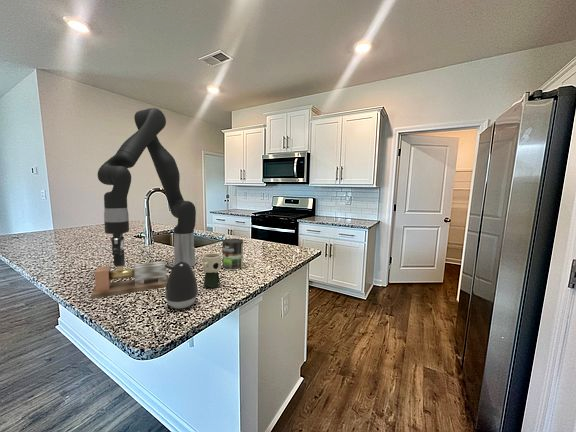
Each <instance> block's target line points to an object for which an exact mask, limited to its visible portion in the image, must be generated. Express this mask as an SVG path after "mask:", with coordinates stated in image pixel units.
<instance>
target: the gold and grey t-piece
mask: <svg viewBox="0 0 576 432" xmlns="http://www.w3.org/2000/svg"><path fill="white" fill-rule="evenodd" d="M117 251H119V250H115V252H117ZM121 253H122V254H121V265H118V266H115V265H114V267H115V268H116V270H114V271H113V270H112V271H111V270H110V272H109V280H111V281H112V280H119V279H126V278H127V279H128V278H133V277H134V278H135V274H134V268H130V269H129V268H128V269H124V267H125V265H126V259H125V257H126V255H125V248H123V249H122V250H121Z"/></svg>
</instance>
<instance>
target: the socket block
mask: <svg viewBox="0 0 576 432" xmlns="http://www.w3.org/2000/svg"><path fill="white" fill-rule="evenodd" d="M109 272H111V265H106V266H105V265H104V266H97V267H96V268H95V271H94V284H95V285H94V288H96V292H100V291H107V290H110V286H111V283H112V280H109Z"/></svg>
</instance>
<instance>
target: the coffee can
mask: <svg viewBox="0 0 576 432" xmlns="http://www.w3.org/2000/svg"><path fill="white" fill-rule="evenodd" d="M221 242H222V257H221V262H222V266H221V269H222V268H223V269H222V270H224V269H225V270H224V271H227V270H236V269H240V268H242V266H243V264H244V263H243V262H244V261H243V258H244V256H243V255H244V254H243V253H244V247H243V246H244V239H240V238H224V239H222V240H221ZM242 269H243V268H242ZM240 270H241V269H240ZM236 271H237V270H236Z"/></svg>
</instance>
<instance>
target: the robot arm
mask: <svg viewBox="0 0 576 432" xmlns="http://www.w3.org/2000/svg"><path fill="white" fill-rule="evenodd" d="M133 118H134V123H135V126H136V128H137V131H136V132H134V133H133V134H132V135H130V137H128V138H127V139H126V140H125V141H124V142H123V143H122V144H121V145H120V147H119V148H118V149H117V151H116V152H115V154H114V155H113V156H112V157H110V158H109V159H107V160H106V161H105V162H104V163H103V164H101V166H100V167H99V168H98V171H97V179H98V181H99V182H100V183H101V184H103V185H106V186H113V187H112V188H111V190H110V191H107V192H105V193H104V195H103V202H104V203H103V204H104V205H103V206H104V210H103V221H104V233H105V234H108V235H111V234H112V236H111V238H110V243H111V246H110V247H111V251H112V252H111V254H112V256H113V265H114V267H115V266H118V265H121V254H122V253H121V250H122V249H124V246H125V236H123V235H124V234H126V233H129V231H130V223H129V222H130V217H129V210H128V194H129V191H130V187H131V183H132V173H131V171H130V170H129V169H131V168H133V167H134V166H135V165H136V163H137V162H138V160H139V159H140V157H141V156H142V154H143V152H145V150H146V149H147V150H148V153H149V155H150V157H151V160H152V164H153V166H154V168H155V170H156V173H157V176H158V178H159V181H160V183H161V186H162V189H163V191H164V193H165V196H166V200H167V203H168V206H169V207H168V208H169V211H170V213H171V214H172V216H173V217H174V218H175V219H177V225H175V226H174V228H173V253H174V254H173V255H174V256H173V257H174V259H173V260H174V265H175V264H176V263H178V262H186V263H188V264H189V265H190V267H191V268H192V267H196V247H195V238H194V237H195V235H194V234H195V231H194V230H195V227H196V217H197V215H196V214H197V210H196V209H197V208H196V206H195V204H194V203H193V202H191V201H189V200H184V198H183V195H182V193H181V188H180V180H181V179H180V178H181V176H180V171H179V167H178V165H177V161H176V159H175V158H174V156H173V155H172V154H171V153H170V152H169V151H168V150H167V149H166V148H165V147H164V145H162V143H161V142H160V140H159V137H158V135H159V133H160V132H161V131H163V130H164V128H165V127H166V124H167V119H166V116H165V114H164V113H163V112H162V111H161V109H159V108H156V107H150V108H146V109H142V110H138V111H136V112H135V114H134V117H133ZM115 250H119V251H117V252H115Z"/></svg>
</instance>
